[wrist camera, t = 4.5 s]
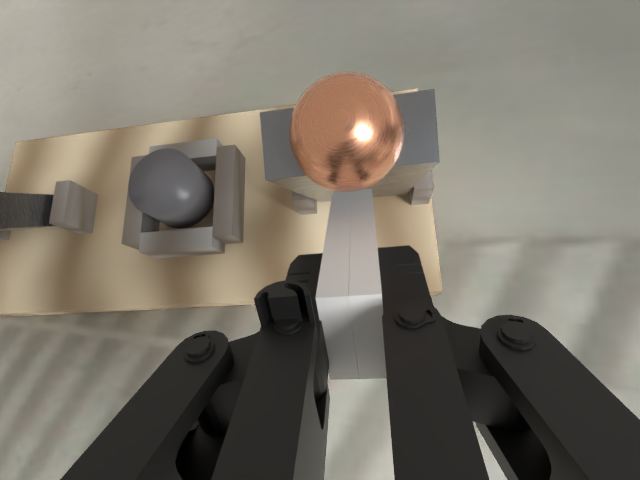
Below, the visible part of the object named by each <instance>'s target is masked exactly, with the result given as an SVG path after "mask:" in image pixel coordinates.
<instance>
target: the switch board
mask: <svg viewBox="0 0 640 480" xmlns="http://www.w3.org/2000/svg"><path fill="white" fill-rule="evenodd" d="M416 91H418V88H417V89H410V90H402V91H395V92H391V93H392V95H394V94H401V93H409V92H416ZM295 106H296V105H290V106H283V107H275V108H268V109H260V110H253V111H245V112H238V113H230V114H223V115H215V116H208V117H200V118H193V119H186V120H178V121H171V122H163V123H156V124H148V125H141V126H133V127H126V128H118V129H111V130H103V131H96V132H88V133H81V134H73V135H66V136H58V137H51V138H43V139H36V140H29V141H21V142H16V144H15V149H14V153H13V158H12V162H11V167H10V172H9V176H8V181H7V185H6V190H5V192H6V193H28V194H50V195H54V196H53V202H52V208H51V213H50V219H49V224H52V225H55V227H44V228H33V229H22V230H11V231H0V316H3V317H13V316H33V315H53V314H73V313H93V312H113V311H133V310H153V309H173V308H193V307H213V306H233V305H253V304H255V302H254V297H255V296H256V295H257V293H258V292H259V291H260V290H262V289H263V288H264V287H266V286H268V285H270V284H272V283H275V282H279V281H285V279H286V276H287V273H288V269H289V266H290V264H291V263H292V261H293V260H294V259H295V258H296V257H297V256H298V255H305V254H318V253H323V248H324V242H325V236H326V230H327V224H328V218H329V211H330V205H331V201H326V202H319V201H316V200H314V199H311V198H309V197H306V196H304V195H301V194H299V193H296V192H294V191H291V190H289V189H286V188H284V187H282V186H279V185H277V184H274V183H272V182H269V181H267V180H265V169H264V158H263V146H262V134H261V122H260V112H265V111H273V110H281V109H288V108H294V107H295ZM165 148H170V149H176V150H179V151H181V152H183V153H184V154H185V155H186V156H188V157H189V158H190V159H191V160H192V161H193V162H194V163H195V164H196V165H197V166H198V167H199V168H200V169H201V170H202V171H203V172H205V173H206V174H207V175H208V176H209V177H210V179H211V180H212V182H213V185H214V203H213V205H212V208H211V209H210V211H209V213H208V214H207V215H206V216H205V218H203V219H202V220H201V221H200V222H198V223H197V224H195V225H193V226H191V227H187V228H173V227H170V226H168V225H166V224H164V223H162V222H161V221H159V220H157V219H155V218H153V217H151V216H149V215H147V214H146V213H144V212H142V211H140V210H139V209H137V208H136V207H135V206H134V205H133V203H132V201H131V200H130V197H129V193H128V183H129V179H130V175H131V173H132V171H133V169H134V168H135V166H136V165H137V164H138V162H139V161H140V160H141V159H142V158H144V157H145V156H146V155H148V154H149V153H151V152H153V151H156V150H159V149H165ZM433 189H434V184H433V176H432V170H431V171H429V172H428V173H427V174H426V175H425V176H424V177H423V178H422V179H421V180H420V181H419V182H418V183H417V184H416V185H415V186H414V187H413V188H412V189H411V190H410V191H409V192H408V193H406V194H402V195H392V196H381V197H373V204H374V215H375V225H376V236H377V247H378V248H380V247H393V246H406V245H410V246H411V247H412V248H413V249H414V250H415V251H416V252H418V253H419V257H420V260H421V265H422V267H423V271H424V275H425V278H426V282H427V285H428V289H429V292H430V296H432V295H438V294H440V293H441V292H442V291H443V289H442V281H441V273H440V265H439V257H438V248H437V240H436V232H435V224H434V216H433V208H432V199H431V195H432V192H433Z"/></svg>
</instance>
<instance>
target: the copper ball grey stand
mask: <svg viewBox="0 0 640 480" xmlns="http://www.w3.org/2000/svg"><path fill="white" fill-rule="evenodd" d="M260 122H261V134H262V146H263V158H264V169H265V180H267V181H269V182H272V183H274V184H277V185H279V186H282V187H284V188H286V189H289V190H291V191H294V192H296V193H299V194H301V195H304V196H306V197H309V198H311V199H314V200H316V201H319V202H326V201H331V199H332V193H333V192H353V191H358V190H362V189H371V188H372V193H373V197H381V196H392V195H402V194H406V193H408V192H409V191H410V190H411V189H412V188H413V187H414V186H415V185H416V184H417V183H418V182H419V181H420V180H421V179H422V178H423V177H424V176H425V175H426V174H427V173H428V172H429V171H431V170H432V169H433V168H434V167H435V166H436V165H437V164H438V163H439V150H438V135H437V121H436V107H435V92H434V89H431V90H424V91H416V92H409V93H401V94H394V95H392V93H391V92H390V91H389V90H388V89H387V88H386V87H385V86H384V85H383V84H382V83H380V82H379V81H377V80H375V79H373V78H371V77H369V76H367V75H364V74H361V73H355V72H340V73H335V74H331V75H328V76H326V77H324V78H322V79H320V80H318V81H317V82H315V83H314V84H312V85H311V86H310V87H309V88H308V89H307V90H306V91H305V92H304V93H303V94H302V96H301V97H300V98H299V100H298V102H297V104H296V106H295V107H294V108H288V109H281V110H273V111H265V112H260Z"/></svg>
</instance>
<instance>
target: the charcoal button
mask: <svg viewBox="0 0 640 480" xmlns="http://www.w3.org/2000/svg"><path fill="white" fill-rule="evenodd" d="M128 193H129V197H130V200H131V201H132V203H133V205H134V206H135V207H136V208H137V209H139V210H140V211H142V212H144V213H146V214H147V215H149V216H151V217H153V218H155V219H157V220H159V221H161V222H162V223H164V224H166V225H168V226H170V227H173V228H187V227H191V226H193V225H195V224H197V223H198V222H200V221H201V220H202V219H203V218H205V216H206V215H207V214H208V213H209V211H210V209H211V208H212V205H213V203H214V185H213V182H212V180H211V179H210V177H209V176H208V175H207V174H206V173H205V172H203V171H202V170H201V169H200V168H199V167H198V166H197V165H196V164H195V163H194V162H193V161H192V160H191V159H190V158H189V157H188V156H186V155H185V154H184V153H183V152H181V151H179V150H176V149H170V148H165V149H159V150H156V151H153V152H151V153H149V154H148V155H146V156H145V157H144V158H142V159H141V160H140V161H139V162H138V164H137V165H136V166H135V168H134V169H133V171H132V173H131V175H130V179H129V183H128Z"/></svg>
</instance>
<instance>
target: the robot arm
mask: <svg viewBox="0 0 640 480" xmlns="http://www.w3.org/2000/svg"><path fill="white" fill-rule="evenodd" d="M254 302H255V305H256V309H257V312H258V316H259V319H260V323H261V329H260V331H259V332H257V333H256V334H253V335H251V336H248V337H245V338H241V339H238V340H234V341H231V342H229V341H228V339H227V337H226V336H225V335H224V334H223V333H221V332H218V331H203V332H200V333H196V334H194V335H192V336H190V337H188V338H186V339H185V340H184V341H182V342H181V343H180V344H179V345H178V346H177V347H176V348H175V349H174V350H173V351H172V353H171V354H170V355H169V356H168V357H167V358H166V359H165V361H164V362H163V363H162V364H161V365H160V366H159V367H158V369H157V370H156V371H155V372H154V373H153V374H152V375H151V377H150V378H149V379H148V380H147V381H146V382H145V383H144V385H143V386H142V387H141V388H140V389H139V390H138V391H137V393H136V394H135V395H134V396H133V397H132V398H131V399H130V401H129V402H128V403H127V404H126V405H125V406H124V407H123V409H122V410H121V411H120V412H119V413H118V414H117V415H116V417H115V418H114V419H113V420H112V421H111V422H110V423H109V425H108V426H107V427H106V428H105V429H104V430H103V431H102V433H101V434H100V435H99V436H98V437H97V438H96V439H95V441H94V442H93V443H92V444H91V445H90V446H89V447H88V449H87V450H86V451H85V452H84V453H83V454H82V455H81V457H80V458H79V459H78V460H77V461H76V462H75V463H74V465H73V466H72V467H71V468H70V469H69V470H68V471H67V473H66V474H65V475H64V476H63V477H62V478H61V479H60V480H324V470H325V456H326V443H327V429H328V415H329V402H330V396H329V390H328V384H327V381H328V369H329V374H330V379H331V380H332V379H370V378H387V388H388V401H389V413H390V426H391V438H392V451H393V463H394V476H395V480H489V477H488V474H487V470H486V467H485V463H484V460H483V457H482V453H481V450H480V446H479V443H478V440H477V436H476V433H475V429H474V426H473V422H472V421H474V422H475V423H476V425H477V427H478V429H479V431H480V433H481V434H482V436H483V438H484V440H485V441H486V443H487V445H488V447H489V448H490V450H491V452H492V453H493V455H494V457H495V459H496V460H497V462H498V464H499V466H500V467H501V469H502V471H503V472H504V474H505V476H506V478H507V479H508V480H640V420H639V419H638V418H637V417H636V416H635V415H634V414H633V413H632V412H631V411H630V410H629V409H628V408H627V407H626V406H625V405H624V404H623V403H622V402H621V401H620V400H619V399H618V398H617V397H616V396H615V395H614V394H613V393H611V392H610V391H609V390H608V389H607V388H606V387H605V386H604V385H603V384H602V383H601V382H600V381H599V380H598V379H597V378H596V377H595V376H594V375H593V374H592V373H591V372H590V371H589V370H588V369H587V368H586V367H585V366H584V365H583V364H582V363H581V362H580V361H578V360H577V359H576V358H575V357H574V356H573V355H572V354H571V353H570V352H569V351H568V350H567V349H566V348H565V347H564V346H563V345H562V344H561V343H560V342H559V341H558V340H557V339H556V338H555V337H554V336H553V335H552V334H551V333H550V332H549V331H548V330H546V329H545V328H544V327H542V326H541V325H539V324H538V323H537V322H534V321H532V320H529V319H527V318H524V317H520V316H514V315H501V316H495V317H493V318H490V319H488V320H487V321H486V322H485V323H484V324H483V325H482V327H481V329H479V328H474V327H468V326H463V325H459V324H456V323H453V322H451V321H449V320H447V319H445V318H444V317H442V316H441V315H440V313H439V312H438V310H437V309H436V308H434V306H433V303H432V300H431V296H430V292H429V289H428V285H427V282H426V278H425V275H424V271H423V267H422V265H421V260H420V257H419V253H418V252H416V251H415V250H414V249H413V248H412V247H411V246H410V245H406V246H393V247H380V248H378V247H377V236H376V225H375V215H374V204H373V193H372V188H371V189H362V190H358V191H353V192H333V193H332V199H331V205H330V211H329V218H328V224H327V230H326V236H325V242H324V248H323V253H318V254H305V255H298V256H297V257H296V258H295V259H294V260H293V261H292V263H291V264H290V266H289V269H288V273H287V276H286V279H285V281H279V282H275V283H272V284H270V285H268V286H266V287H264V288H263V289H262V290H260V291H259V292H258V293H257V295H256V296H255V297H254Z"/></svg>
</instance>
